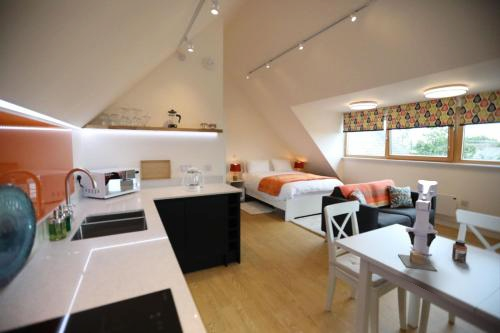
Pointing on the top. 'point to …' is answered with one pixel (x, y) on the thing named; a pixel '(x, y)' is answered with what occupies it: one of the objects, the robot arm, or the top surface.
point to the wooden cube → (416, 257)
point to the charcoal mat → (425, 266)
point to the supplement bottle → (459, 251)
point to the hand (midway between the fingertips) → (420, 245)
